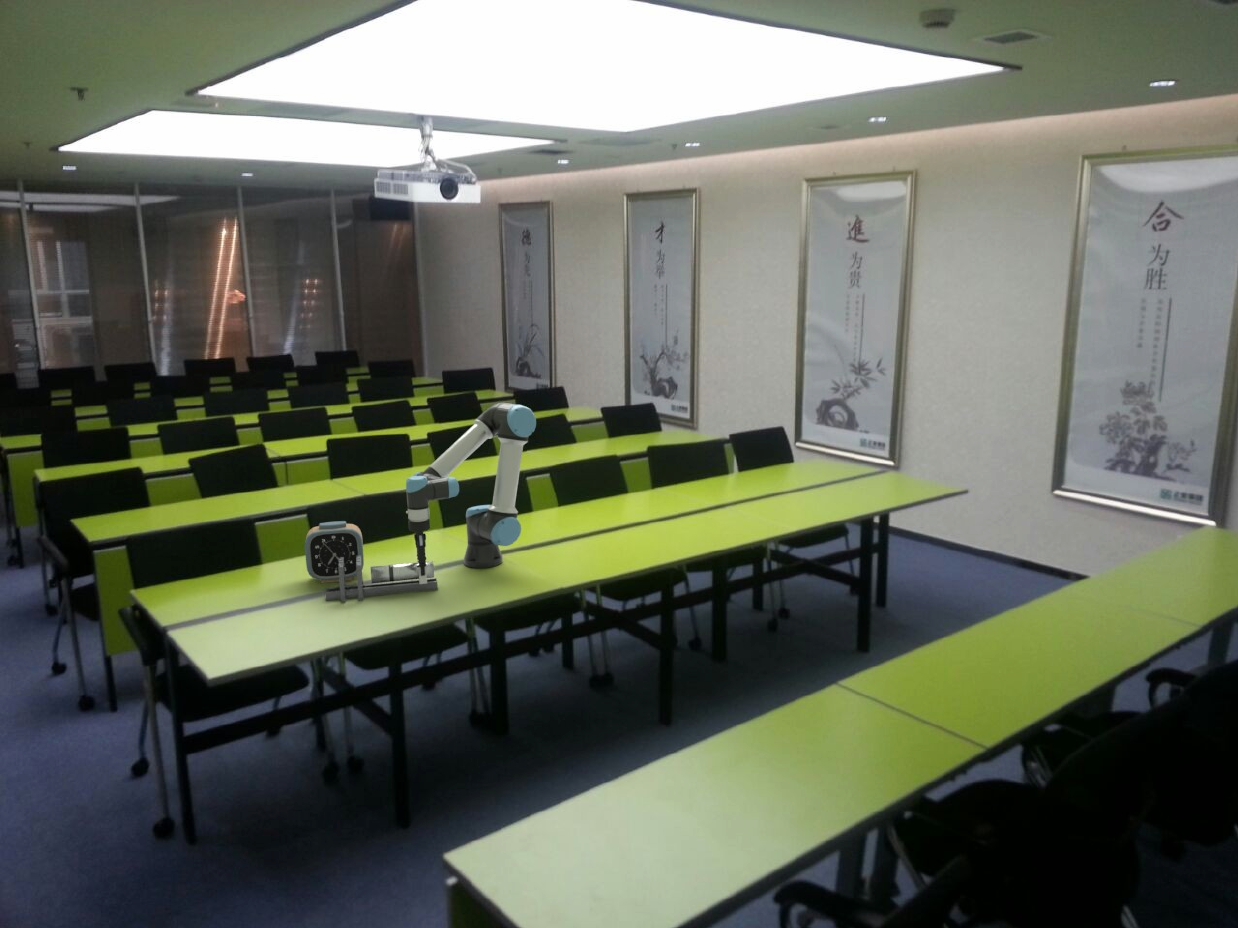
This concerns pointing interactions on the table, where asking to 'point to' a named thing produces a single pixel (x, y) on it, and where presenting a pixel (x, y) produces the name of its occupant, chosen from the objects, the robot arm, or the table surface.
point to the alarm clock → (333, 550)
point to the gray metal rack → (373, 586)
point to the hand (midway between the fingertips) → (422, 580)
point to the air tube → (399, 572)
